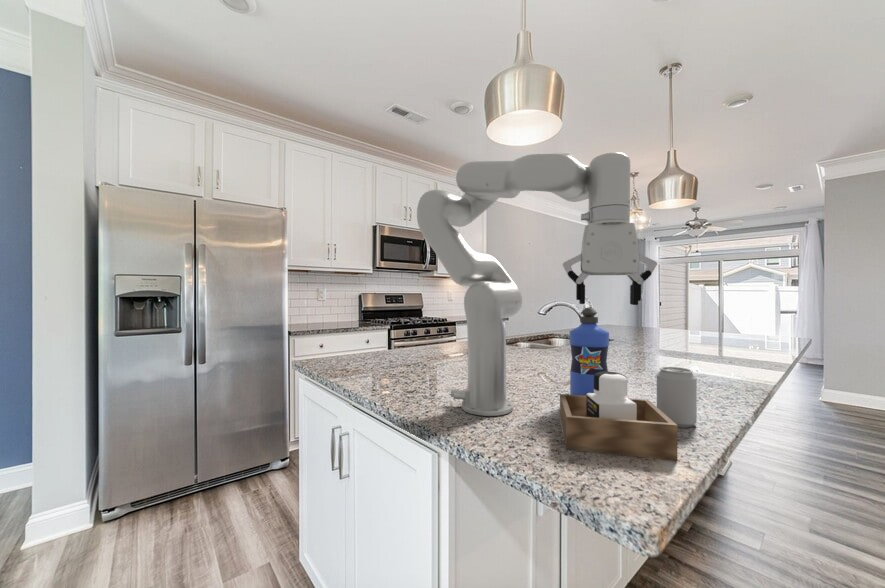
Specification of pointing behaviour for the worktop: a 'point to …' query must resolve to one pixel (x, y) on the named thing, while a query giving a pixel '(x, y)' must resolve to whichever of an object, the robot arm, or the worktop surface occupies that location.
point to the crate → (618, 430)
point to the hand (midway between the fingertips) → (607, 304)
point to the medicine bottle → (610, 398)
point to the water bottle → (587, 353)
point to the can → (677, 395)
